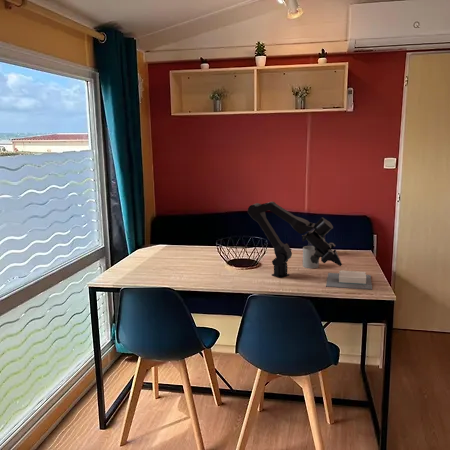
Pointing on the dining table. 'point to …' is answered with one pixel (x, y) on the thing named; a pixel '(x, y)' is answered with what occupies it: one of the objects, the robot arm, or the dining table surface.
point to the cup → (306, 257)
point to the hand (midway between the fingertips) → (341, 265)
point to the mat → (334, 282)
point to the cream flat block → (352, 277)
